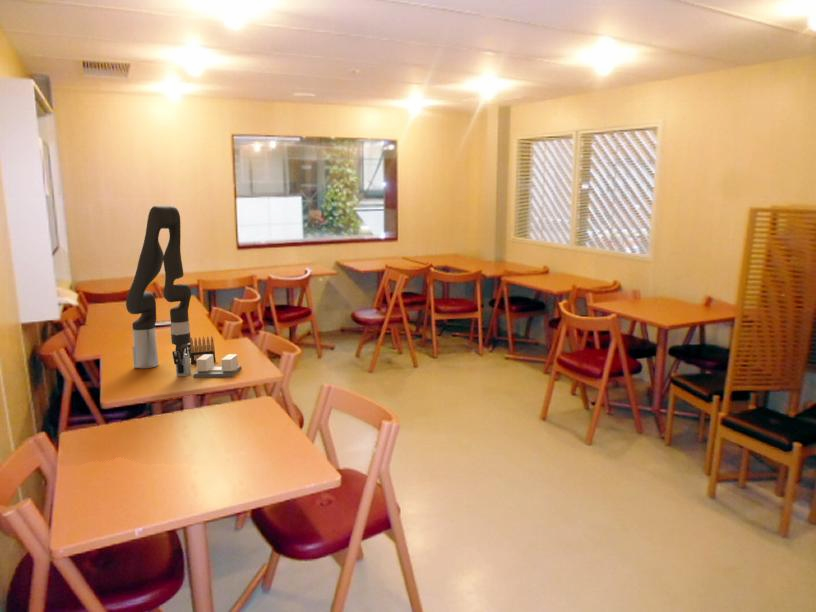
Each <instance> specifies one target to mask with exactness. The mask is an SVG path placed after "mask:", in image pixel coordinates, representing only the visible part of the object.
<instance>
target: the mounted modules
mask: <svg viewBox="0 0 816 612" xmlns="http://www.w3.org/2000/svg"><path fill="white" fill-rule="evenodd" d="M220 361H221V362H220V363H221V366H222V371H232V370H233V369H235V368H236V367H237V366H239V359H238V353H237V354H236V353H232V354H231V353H229V354H227V355H225V356H224V357H222V358H221V360H220ZM196 363H197V364H196V372H197V371H208V370H209V369H210V368H212V367H213V366H215V364H214V363H215V362H214V358H213V354H204V355H202V356H201V357H199V358H198V359H196Z"/></svg>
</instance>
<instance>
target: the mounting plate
mask: <svg viewBox="0 0 816 612" xmlns="http://www.w3.org/2000/svg"><path fill="white" fill-rule="evenodd" d="M241 370H242V365H238V366H237V367H236V368H235V369H233V370H232V371H222V365H214V366H213V367H212V368H210V369H209V370H208V371H197V370H196V372H194V373H193V378H195V379H196V378H233V377H235V376H236V375H237V374H238V373H239V372H240V371H241Z"/></svg>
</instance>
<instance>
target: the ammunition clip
mask: <svg viewBox="0 0 816 612" xmlns="http://www.w3.org/2000/svg"><path fill="white" fill-rule="evenodd" d="M214 342H215V341H214V337H213V335H211V337H209V336H207V337H206V338H205V336H203V337H202V340H201V337H200V336H199V337H198V340H197V337H194V341H193V338H192V337H191V342H190V343H189V344H191V358H190V365H197V363H196V359H198V358H199V357H201V356H202V355H204V354H213V358H214V363H216V362H217V361H216V350H215V343H214Z"/></svg>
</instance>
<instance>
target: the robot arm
mask: <svg viewBox="0 0 816 612" xmlns="http://www.w3.org/2000/svg"><path fill="white" fill-rule="evenodd" d="M146 222H147V223H146V229H145V236H144V239H143V244H142V247H141V251H140V255H139V258H138V262H137V266H136V271H135V275H134V278H133V279H132V280H133V281H132V283H131V286H130V289H129V290H128V294H127V295H126V301H125V307H126V310H127V312H128V313H129V314H130V315H131V314H132V315H139V314H140V316H139V317H138V319H135V321H133V322H132V333H133V334H132V335H133V336H132V337H133V346H132V356H133V358H132V359H133V368H136V369H149V368H150V369H151V368H152V369H153V368H155V367H158V366H159V365H160V364H159V354H158V342H157V330H156V323H157V302H156V297H155V296H154V293H152V291H149V290H148V291H146V290H147V287H149V285H150V284H151V283H152V282H153V281H154V280H155V279H156V278H157V277H158V275H159V274H160V272H161V270H162V266H163V268H164V274H165V275H164V276H165V277H164V287H163V298H164V299H165V301H166V302H168V303H176V302H179V304H178V305H177V306H175V307H172V308H170V310H169V317H170V336H171V337H170V338H171V339H170V340H171V344H172V345H175V350H173V351H172V359H173V363H174V365H175V366H176V365H177V366H178V373H179V374H182V373H184V368H183V359H184V357H185V355H190V359H191V344H190V342H191V338H192V337H191V327H190V326H191V325H190V320H189V307H190V301H191V297H192V289H191V287H190V285H188V284H186V283H177V284H174V283H175V281H176V280H179V279H182V278H183V277H184V276H185V275H184V267H183V261H182V255H181V239H182V238H181V234H182V233H181V215H180V211H179V210H178V208H177V207H175V206H171V205H153V206H152V207H151V208H150V209H149V212H148V216H147V220H146ZM162 229H165V230H166V229H168V232H169V233H168V234H169V239H168V242H167V245H166V248H165V251H163V249H162V247H161V244H160V241H159V236H160V233H161V230H162ZM180 356H182V357H180Z"/></svg>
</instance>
